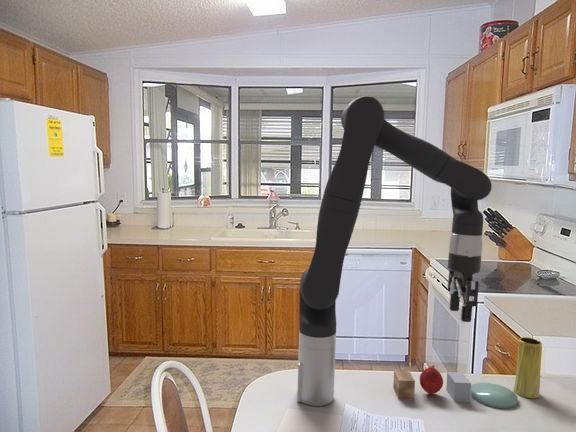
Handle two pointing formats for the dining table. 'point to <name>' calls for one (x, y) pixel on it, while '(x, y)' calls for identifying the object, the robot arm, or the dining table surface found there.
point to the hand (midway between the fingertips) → (459, 315)
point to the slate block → (458, 387)
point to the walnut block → (404, 384)
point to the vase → (528, 368)
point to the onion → (431, 380)
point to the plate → (493, 395)
